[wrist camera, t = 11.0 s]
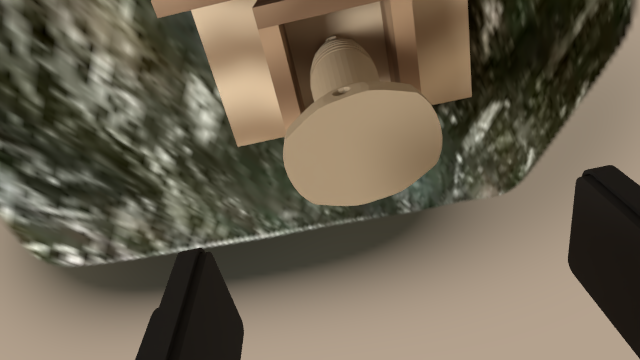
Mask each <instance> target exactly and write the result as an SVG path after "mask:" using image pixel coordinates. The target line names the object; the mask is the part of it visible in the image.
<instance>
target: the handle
mask: <svg viewBox="0 0 640 360" xmlns="http://www.w3.org/2000/svg"><path fill="white" fill-rule="evenodd" d="M310 84H311V91H312V95H313V99H314V103H313V104H311V105H310V106H309V107H308V108H307V109H306V110H305V111H304V112H303V113H302V114H301V115H300V116H299V117H298V118H297V119H296V120H295V121H294V122H293V123H292V124H291V125H290V126H289V128H288V129H287V131H286V135H285V140H284V150H283V160H284V165H285V169H286V172H287V174H288V177H289V179H290V181H291V182H292V184H293V186H294V187H295V188H296V190H297V191H298V192H299V193H300V194H301V195H302V196H303V197H304V198H306V199H307V200H309V201H310V202H312V203H314V204H319V205H335V206H355V205H361V204H365V203H369V202H372V201H375V200H379V199H382V198H385V197H388V196H391V195H393V194H396V193H398V192H400V191H402V190H404V189H405V188H407V187H408V186H410V185H411V184H413V183H414V182H415V181H416V180H418V179H419V178H420V177H421V176H423V175H424V174H425V173H426V172H427V171H429V170H430V169H431V168H432V167H433V166H434V165H436V163H437V161H438V159H439V156H440V153H441V149H442V132H441V126H440V123H439V120H438V117H437V114H436V112H435V111H434V109H433V107H432V106H431V104H430V103H429V101H428V100H427V99H426V97H425V96H424V95H423V94H422V93H421V92H420V91H419V90H417V89H416V88H415V87H413V86H412V85H411V84H405V83H397V82H383V81H380V79H379V76H378V72H377V69H376V67H375V64H374V62H373V60H372V59H371V57H370V56H369V54H368V53H367V52H366V51H365V50H364V48H363V47H361V46H360V45H359V44H358V43H357V42H356V41H355V40H354V39H352V38H351V39H347V38H339V37H337V36H336V35H331V36H329V37H327V38H326V41H325V43H324V44H323V45H322V46H321V47H320V48H319V50H318V51H317V52H316V53H315V55H314V59H313V62H312V66H311V72H310Z"/></svg>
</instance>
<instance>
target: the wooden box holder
mask: <svg viewBox="0 0 640 360" xmlns="http://www.w3.org/2000/svg"><path fill="white" fill-rule="evenodd" d="M151 2H152V5H153V7H154V10H155V12H156V15H157V18H160V17H164V16H168V15H172V14H176V13H181V12H185V11H189V10H191V11H192V14H193V17H194V20H195V23H196V26H197V29H198V32H199V35H200V38H201V40H202V43H203V46H204V49H205V52H206V55H207V58H208V61H209V64H210V67H211V70H212V73H213V76H214V78H215V81H216V84H217V87H218V90H219V93H220V96H221V99H222V102H223V105H224V108H225V111H226V114H227V116H228V119H229V122H230V125H231V128H232V131H233V134H234V137H235V140H236V143H237V146H238V147H239V146H244V145H248V144H253V143H258V142H262V141H267V140H272V139H276V138H281V137H285V135H286V131H287V129H288V128H289V126H290V125H291V124H292V123H293V122H294V121H295V120H296V119H297V118H298V117H299V116H300V115H301V114H302V113H303V112H304V111H305V110H306V109H307V108H308V107H309V106H310V105H311V104H313V103H314V99H313V95H312V91H311V84H310V72H311V66H312V62H313V59H314V55H315V53H316V52H317V51H318V50H319V48H320V47H321V46H322V45H323V44H324V43H325V41H326V38H327V37H329V36H331V35H336V36H337V37H339V38H347V39H351V38H352V39H354V40H355V41H356V42H357V43H358V44H359V45H360V46H361V47H363V48H364V50H365V51H366V52H367V53H368V54H369V56H370V57H371V59H372V60H373V62H374V64H375V67H376V69H377V72H378V76H379V79H380V81H383V82H397V83H405V84H411V85H412V86H413V87H415V88H416V89H417V90H419V91H420V92H421V93H422V94H423V95H424V96H425V97H426V99H427V100H428V101H429V103H430V104H431V105H435V104H440V103H445V102H449V101H454V100H459V99H463V98H468V97H472V89H471V66H470V43H469V20H468V0H151Z"/></svg>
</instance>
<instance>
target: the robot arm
mask: <svg viewBox="0 0 640 360" xmlns="http://www.w3.org/2000/svg"><path fill="white" fill-rule="evenodd" d="M568 263H569V266H570V269H571V271H572V273H573V274H574V275H575V277H576V278H577V279H578V281H579V282H580V283H581V284H582V286H583V287H584V288H585V289H586V291H587V292H588V293H589V295H590V296H591V297H592V298H593V300H594V301H595V302H596V303H597V305H598V306H599V307H600V308H601V310H602V311H603V312H604V314H605V315H606V316H607V318H608V319H609V320H610V321H611V323H612V324H613V325H614V327H615V328H616V329H617V330H618V332H619V333H620V334H621V335H622V337H623V338H624V339H625V341H626V342H627V343H628V344H629V346H630V347H631V348H632V350H633V351H634V352H635V353H636V355H637V356H638V357H639V358H640V186H639V185H638V184H637V183H635V182H634V181H633V180H632V179H630V178H629V177H628V176H626V175H625V174H624V173H623V172H621V171H620V170H619V169H617V168H616V167H614V166H612V165H608V166H603V167H599V168H593V169H588V170H585V171H584V172H583V174H582V177H579V178H578V179H577V180H576V186H575V196H574V205H573V215H572V224H571V234H570V244H569V253H568ZM243 336H244V330H243V323H242V320H241V317H240V315H239V313H238V311H237V309H236V306H235V304H234V302H233V299H232V298H231V295H230V293H229V291H228V288H227V286H226V284H225V282H224V279H223V277H222V275H221V273H220V270H219V268H218V266H217V264H216V261H215V259H214V257H213V255H212V253H211V252H205V251H204V250H203V249H202V248H197V249H192V250H187V251H182V252H180V253H178V255H177V258H176V261H175V263H174V267H173V269H172V272H171V275H170V278H169V280H168V283H167V286H166V289H165V292H164V295H163V297H162V300H161V303H160V306H159V308H157V309H156V310H155V311H154V312H153V314H152V316H151V318H150V321H149V324H148V326H147V329H146V332H145V335H144V337H143V340H142V343H141V345H140V348H139V351H138V354H137V356H136V359H135V360H240V359H241V352H242V344H243Z"/></svg>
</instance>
